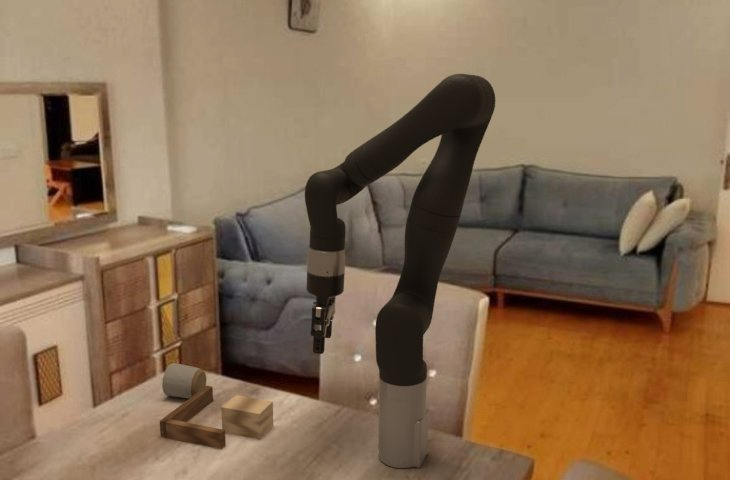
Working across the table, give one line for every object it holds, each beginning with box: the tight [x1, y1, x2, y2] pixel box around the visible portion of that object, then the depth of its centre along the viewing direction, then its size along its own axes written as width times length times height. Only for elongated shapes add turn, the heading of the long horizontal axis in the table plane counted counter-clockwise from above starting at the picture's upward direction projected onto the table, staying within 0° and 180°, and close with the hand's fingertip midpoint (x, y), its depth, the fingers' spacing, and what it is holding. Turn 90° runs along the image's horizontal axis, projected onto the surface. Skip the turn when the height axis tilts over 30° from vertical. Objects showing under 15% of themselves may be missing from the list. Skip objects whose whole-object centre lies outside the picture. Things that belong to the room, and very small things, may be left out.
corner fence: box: [159, 385, 227, 450], centre depth 151 cm, size 15×18×4 cm
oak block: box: [220, 394, 274, 441], centre depth 148 cm, size 9×6×6 cm, turn 71°
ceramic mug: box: [161, 362, 207, 400], centre depth 165 cm, size 11×8×8 cm
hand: (322, 344), depth 143 cm, fingers open, 8 cm apart
